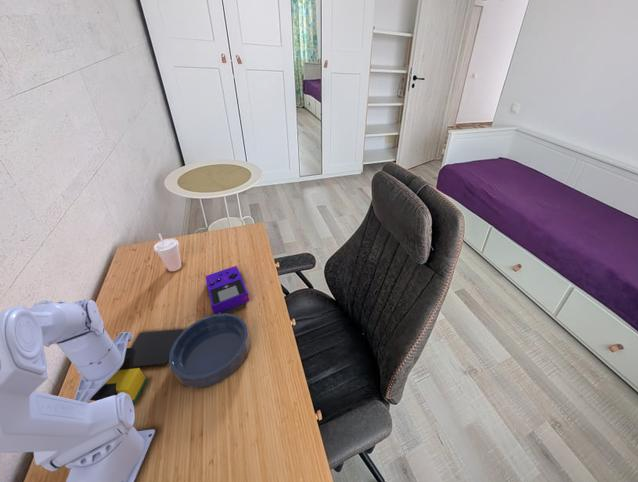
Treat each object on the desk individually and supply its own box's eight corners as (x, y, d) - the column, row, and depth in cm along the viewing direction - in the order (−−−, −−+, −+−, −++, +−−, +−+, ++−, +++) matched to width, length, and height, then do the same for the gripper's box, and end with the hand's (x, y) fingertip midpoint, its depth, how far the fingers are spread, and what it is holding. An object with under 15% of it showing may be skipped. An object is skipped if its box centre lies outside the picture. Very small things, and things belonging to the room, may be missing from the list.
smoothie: (164, 263, 94) (150, 229, 87) (187, 258, 97) (175, 225, 90) (161, 276, 89) (146, 241, 82) (185, 271, 92) (172, 237, 85)
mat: (166, 364, 66) (166, 363, 66) (119, 369, 65) (118, 368, 65) (183, 330, 74) (182, 329, 74) (140, 334, 73) (139, 332, 72)
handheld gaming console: (236, 264, 91) (247, 291, 80) (239, 277, 93) (250, 305, 82) (204, 275, 86) (210, 305, 75) (208, 288, 88) (215, 319, 77)
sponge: (136, 402, 59) (127, 389, 57) (98, 406, 58) (87, 394, 56) (147, 380, 63) (139, 367, 61) (112, 384, 62) (102, 371, 60)
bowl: (241, 384, 64) (237, 373, 61) (161, 394, 61) (154, 383, 59) (256, 321, 78) (253, 310, 75) (191, 327, 75) (186, 316, 73)
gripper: (95, 320, 59) (121, 358, 66) (34, 396, 46) (74, 433, 53) (133, 317, 60) (154, 354, 67) (84, 390, 48) (116, 427, 54)
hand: (121, 389), depth 60 cm, fingers closed on sponge, 4 cm apart
